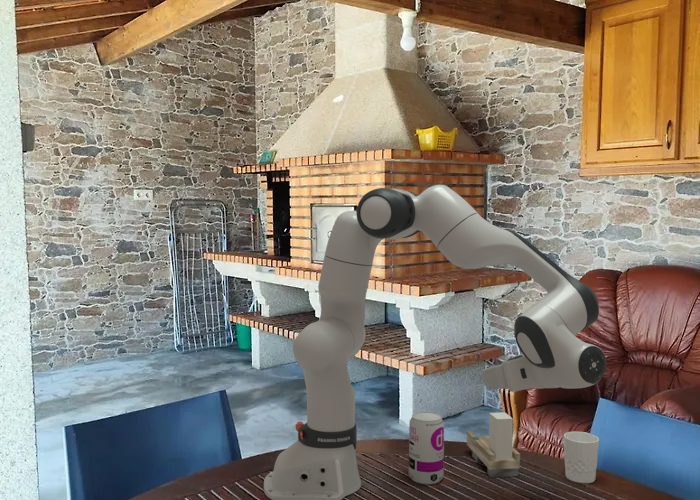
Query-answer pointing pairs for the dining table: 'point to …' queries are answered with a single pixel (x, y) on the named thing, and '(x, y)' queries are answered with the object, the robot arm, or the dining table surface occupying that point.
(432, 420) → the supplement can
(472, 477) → the dining table surface
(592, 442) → the white cup
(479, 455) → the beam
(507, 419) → the rider
